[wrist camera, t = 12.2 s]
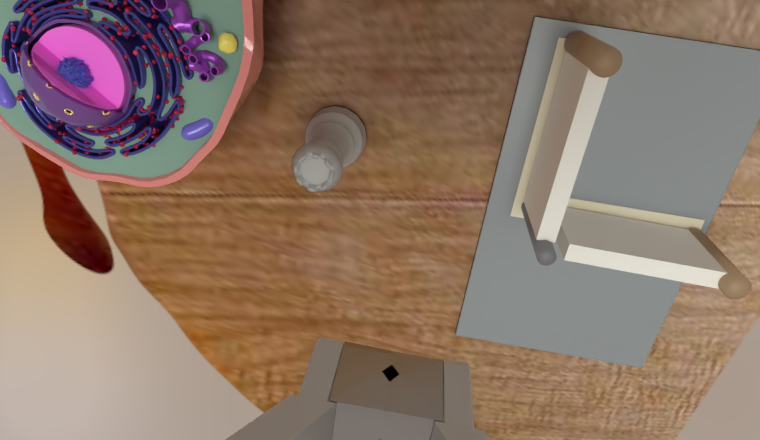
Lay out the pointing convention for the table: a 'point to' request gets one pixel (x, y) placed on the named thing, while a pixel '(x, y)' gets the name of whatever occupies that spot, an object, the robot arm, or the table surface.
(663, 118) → the board
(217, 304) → the table surface
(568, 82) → the rail
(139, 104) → the cell model
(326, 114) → the rook chess piece
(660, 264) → the panel
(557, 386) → the table surface
